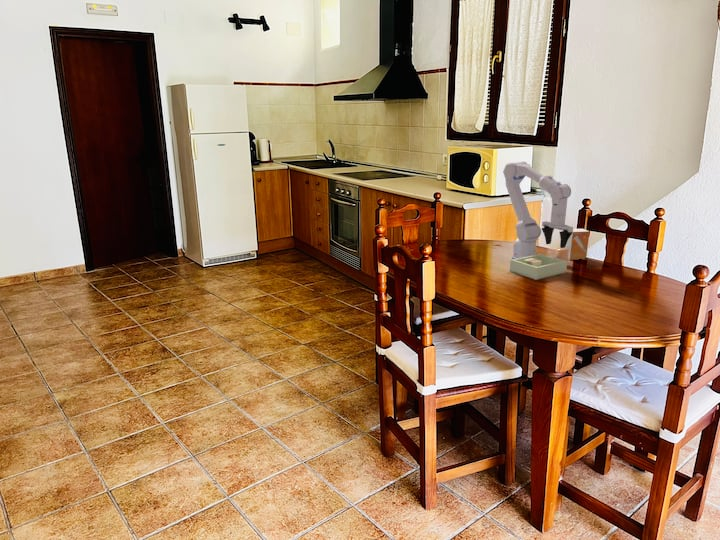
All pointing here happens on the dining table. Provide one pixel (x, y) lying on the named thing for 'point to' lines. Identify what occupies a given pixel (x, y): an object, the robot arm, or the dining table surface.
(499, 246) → the dining table surface
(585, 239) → the small box
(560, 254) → the terracotta capsule
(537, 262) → the birch cube
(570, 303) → the dining table surface
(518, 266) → the tote
